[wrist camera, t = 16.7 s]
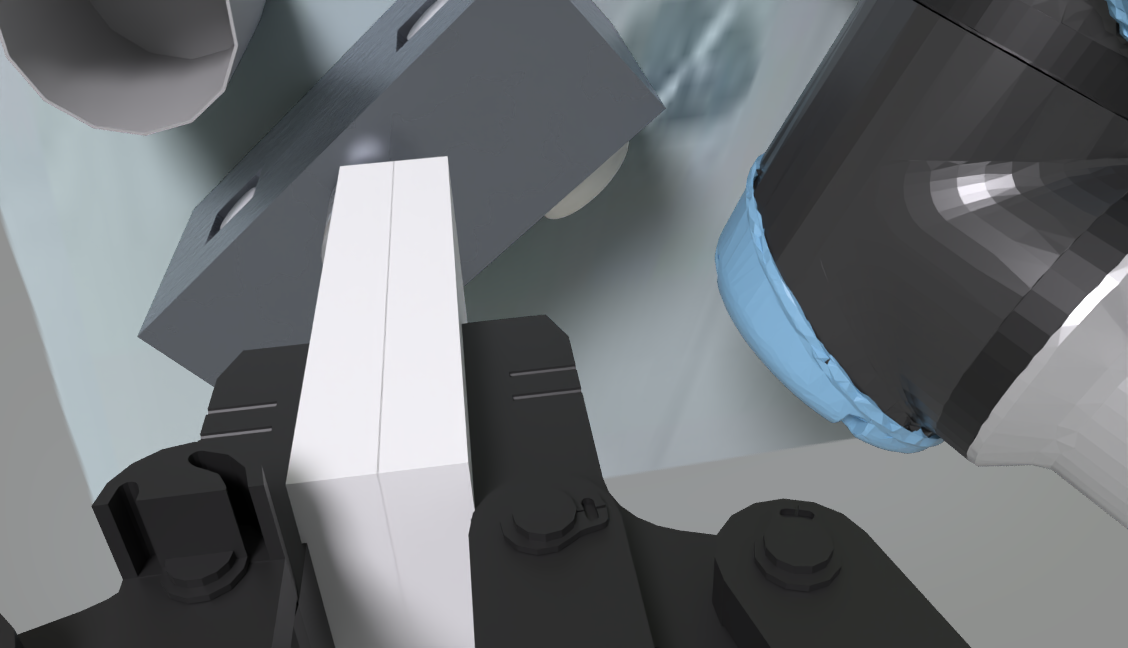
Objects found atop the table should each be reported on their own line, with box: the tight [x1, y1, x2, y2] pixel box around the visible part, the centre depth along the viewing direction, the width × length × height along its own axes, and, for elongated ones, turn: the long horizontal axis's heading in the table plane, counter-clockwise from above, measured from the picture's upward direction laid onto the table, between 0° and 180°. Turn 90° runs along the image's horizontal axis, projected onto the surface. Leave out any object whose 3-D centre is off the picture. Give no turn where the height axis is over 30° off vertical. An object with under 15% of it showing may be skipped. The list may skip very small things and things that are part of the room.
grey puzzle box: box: [137, 0, 666, 387], centre depth 43 cm, size 8×22×12 cm, turn 132°
